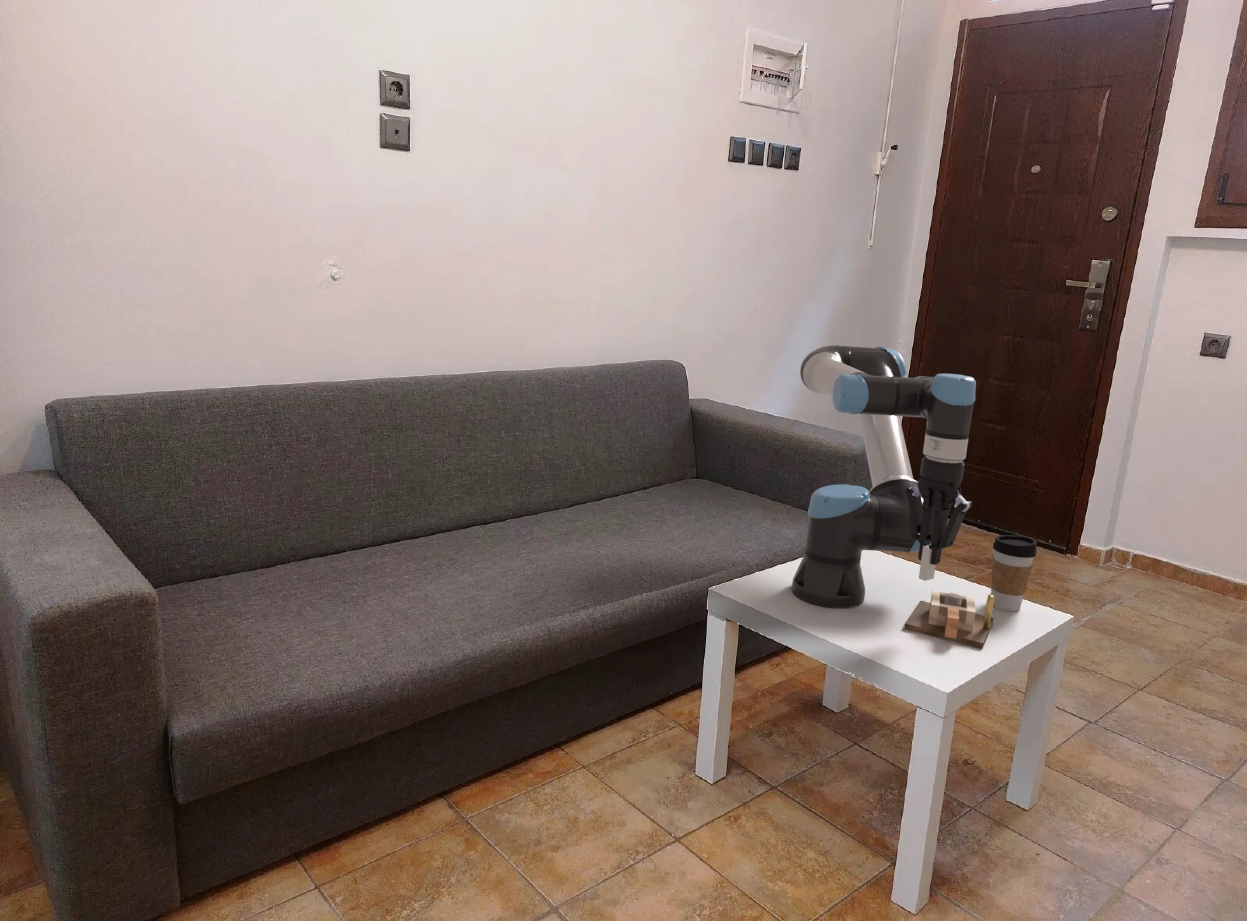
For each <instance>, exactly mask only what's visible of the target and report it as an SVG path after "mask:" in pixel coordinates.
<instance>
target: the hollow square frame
mask: <svg viewBox="0 0 1247 921" xmlns="http://www.w3.org/2000/svg"><path fill="white" fill-rule="evenodd" d="M946 594H947V592H942V591H937V590H931V595H930V602H929V603H930V608H929V624H932V625H938V626H943V627H945V637H949V638H954V639H956V635H957V629H960V630H965V631H970V632H972V631H973V625H974V619H975V614H977V613H976V603H975V602H976V601H975V597H971V596H964V595H961V596H962V601H961V607H957V606H952V605H946V604H945V597H946Z"/></svg>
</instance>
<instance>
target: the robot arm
mask: <svg viewBox="0 0 1247 921" xmlns="http://www.w3.org/2000/svg"><path fill="white" fill-rule="evenodd" d="M799 370H800V371H799V374H800V379H801V381H802V383H803V385H804V386H805V387H806V388H807V389H808V390H809V391H812V392H814V393H815V394H818V395H827V396H829V397H830V398H832V402H833V405H834V409H835V410H836V412H838V413H842V414H843V413H844V414H848V415H858V416H859V422H860V427H861V432H862V433H861V434H862V437H863V442H864V446H865V452H866V458H867V463H868V469H869V473H870V479H871V485H872V487H871V489H870V490H868V489H867V488H866V487H865V486H860V485H851V484H847V483H846V484H841V483H840V484H830V485H825V486H822V487H819V488H817V489H816V490H814V492H813V493H812V494H811V497H810V502H809V504H808V505H809V506H808V510H807V523H806V524H807V525H806V533H805V543H804V551H803V552H804V553H803V556H802V559H801V561H800V563H799V565H798V568H797V570H796V571H795V574H794V576H793V578H792V584H791V592H792V593H793V595H795V596H796V597H797V598H799V599H800V600H802V601H804V602H806V603H810V604H813V605H816V606H820V607H827V608H835V609H841V608H842V609H846V608H847V609H848V608H854V607H858V606H860V605H862V604H863V603H864V601H865V597H866V596H865V595H866V586H865V581H864V577H863V571H862V566H861V559H862V553H863V551H879V552H899V553H907V554H910V553H918V555H917V558H918V560H919V561H920V566H919V575H918V579H919V580H922V581H929V580H930V581H931V580H932V579H934V578H935V572H936V565H939V564H940V562H941V558H942V551H943V550H942V549H947V548H949V547H953V545H954V543H955V541H956V537H957V535H958V532H959V531H960V528H961V525H962V523H963V520H964V518H965V516H966V513H967V512H968V511H969V510H970V509H971V508H972V507H973V503H972V501H970V500H968V501H967V500H966V498H964V497H963V495H962V492H963V491H962V489H961V484H962V481H963V478H964V472H965V471H964V470H965V465H966V464H965V462H964V460H965V459H967V458H966V457H967V453H968V452H967V450H968V444H969V434H970V429H971V424H972V417H973V413H974V412H973V410H974V405H975V401H976V389H977V388H976V386H977V382H976V380H975V378H974V377H972V376H969V375H963V374H956V373H937V374H935V376H926V375H925V376H924V375H923V376H922V375H920V376H916V377H907V376H906V374H907V367H906V363H905V360H904V358H903V356H902V355H901V353H900V352H899V351H898V350H895V349H892V348H888V347H887V348H886V347H881V346H877V347H865V346H853V345H852V346H851V345H850V346H848V345H838V344H836V345H833V344H832V345H826V346H822V347H819V348H816V349H814V350H813V351H811V352H810V353H809V354H807V355H806V357H805V358H804V359H803V360H802V363H801V364H800V369H799ZM900 417H912V418H913V417H914V418H924V419H927V420H926V428H925V434H924V435H925V436H924V443H923V450H922V454H923V455H924V456H923V457H922V458H921V462H920V463H921V464H920V471H919V475H920V478H919V480H918V481H917V480H915V479H914V476H913V472H912V467H911V463H910V458H909V453H908V449H907V444H906V440H905V437H904V436H905V435H904V431H903V426H902V424H901V419H900ZM953 504H954V505H953ZM952 505H953V506H954V509H953V511H952V513H951V515H950V518H949V513H950V512H951V508H952Z"/></svg>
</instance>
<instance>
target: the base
mask: <svg viewBox="0 0 1247 921" xmlns="http://www.w3.org/2000/svg"><path fill="white" fill-rule="evenodd" d="M946 593H947V592H946ZM962 596H963V595H960V594H957V593H952V592H948V593H947V594H946V597H945V604H946V605H952V606H957V607H961V601H962ZM929 608H930V602H929V601H924V600H919V602H918V603H917V605H916V606H915V607H914V610H913V611H912V612H911V614H910V615H909V616H908V617H907V620H906V621H905V622H904V628H903V629H904V630H906V631H910V632H914V633H918V634H921V635H925V636H930V637H934V638H938V639H941V640H945V641H949V642H953V643H957V644H959V645H960V644H961V645H964V646H968V647H969V646H970V647H972V648H977V649H981V650H983V648H984V647H985V645H986V642H987V640H988V637H989V635H990V631H991V630H992V627H993V625H994V621H995V618H994V617H992V616H991V621H990V627H989V630H985V629H983V622H984V616H985V614H983V615H982V614H979V613H975V619H974V625H973V631H972V632H970V631H965V630H960V629H957V635H956V639H954V638H949V637H945V627H943V626H938V625H932V624H929Z"/></svg>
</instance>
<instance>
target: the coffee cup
mask: <svg viewBox="0 0 1247 921" xmlns="http://www.w3.org/2000/svg"><path fill="white" fill-rule="evenodd" d="M1037 542H1038V541H1037V540H1036V539H1033V538H1032V537H1028V536H1025V535H1009V534H1008V535H1007V534H1006V535H1005V534H1004V535H1003V534H1002V535H998V536H996V537H995V539H994V542H993V544H992V549H993V551H994V552H993V556H992V566H991V567H992V568H991V579H990V580H991V582H990V583H991V585H990V588H991V589H990V595H994V596H995V598H994V603H993V608H995V609H997V610H1001V611H1005V612H1018V611H1020V610H1021V606H1022V603H1023V600H1024V595H1025V592H1026V588H1027V586H1028V583H1029V580H1030V579H1029V578H1030V575H1031V572H1032V568H1033V565H1034V563H1033V560H1034V558H1035V557H1036V556H1037V553H1038V550H1037V547H1038V546H1037V545H1038V544H1037Z"/></svg>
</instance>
